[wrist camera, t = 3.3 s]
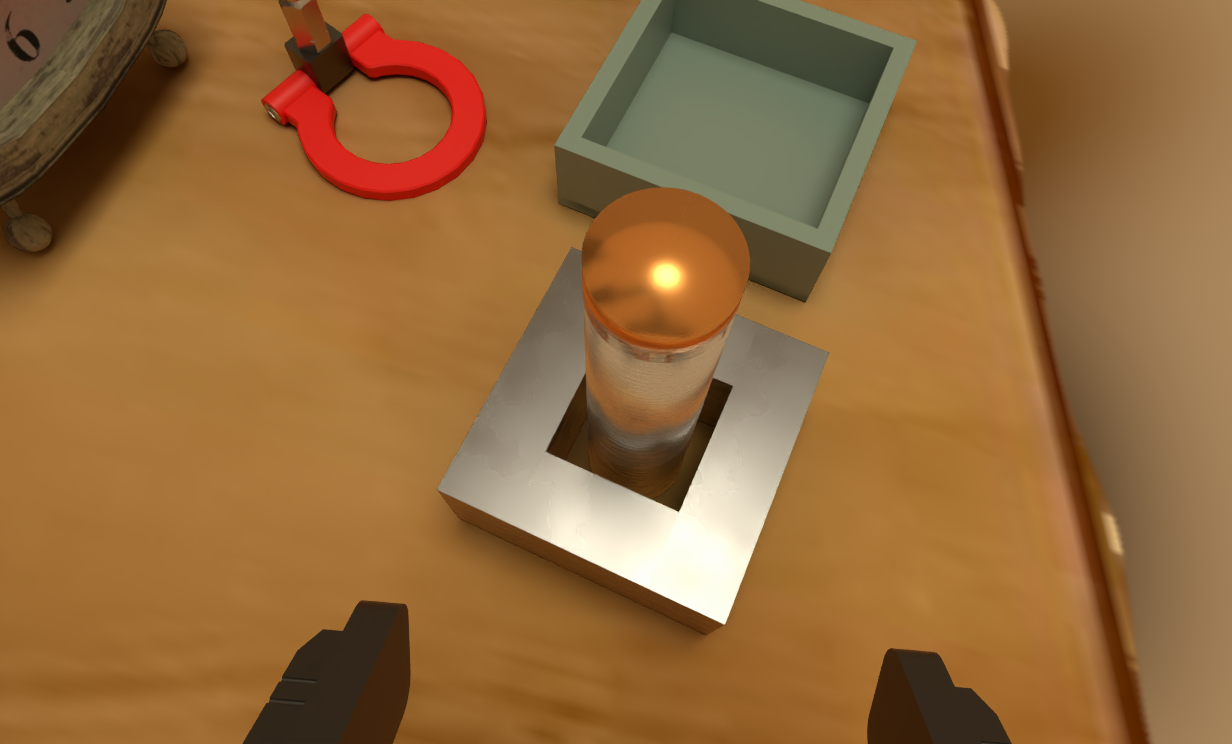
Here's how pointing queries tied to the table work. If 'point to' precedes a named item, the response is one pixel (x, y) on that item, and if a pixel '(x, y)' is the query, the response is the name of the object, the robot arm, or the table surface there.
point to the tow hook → (368, 48)
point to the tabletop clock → (63, 85)
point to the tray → (739, 121)
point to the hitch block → (613, 515)
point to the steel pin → (655, 328)
